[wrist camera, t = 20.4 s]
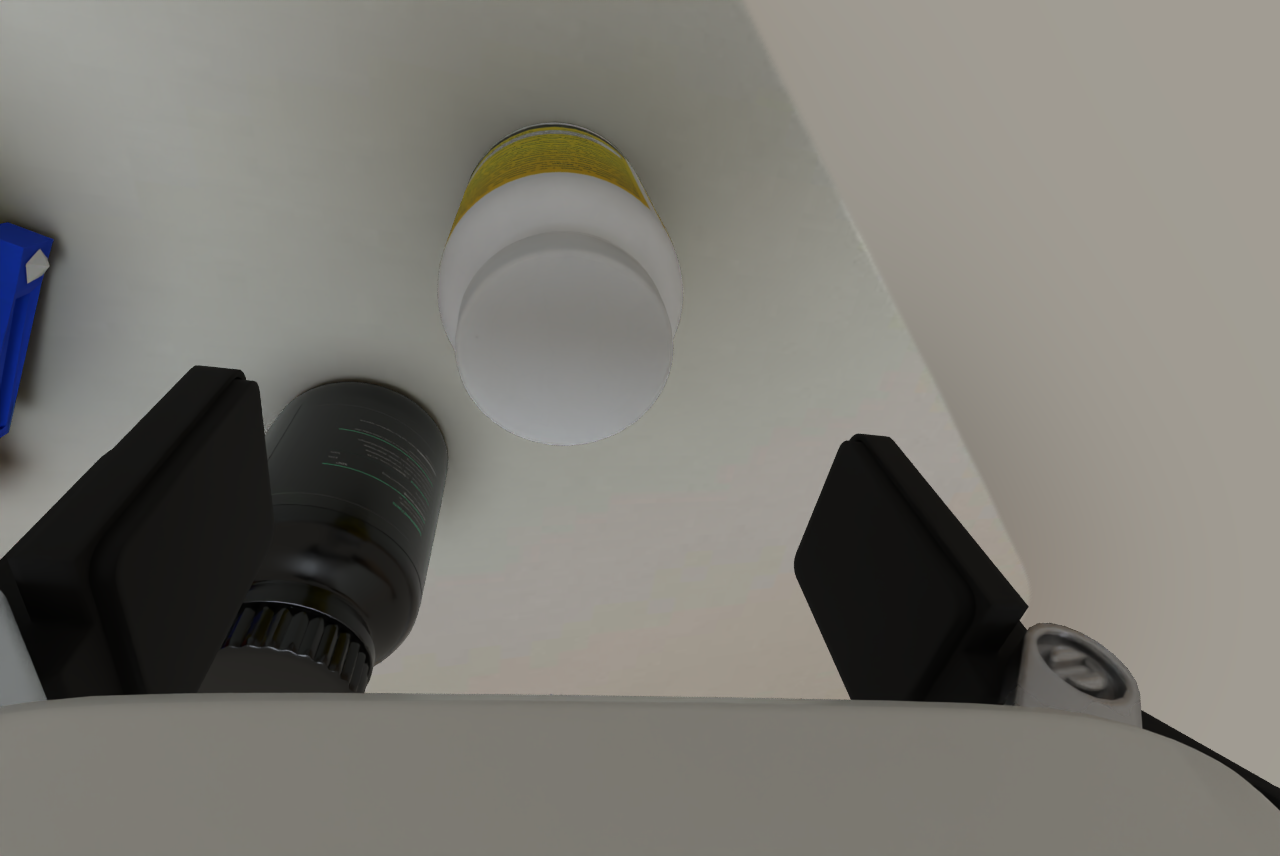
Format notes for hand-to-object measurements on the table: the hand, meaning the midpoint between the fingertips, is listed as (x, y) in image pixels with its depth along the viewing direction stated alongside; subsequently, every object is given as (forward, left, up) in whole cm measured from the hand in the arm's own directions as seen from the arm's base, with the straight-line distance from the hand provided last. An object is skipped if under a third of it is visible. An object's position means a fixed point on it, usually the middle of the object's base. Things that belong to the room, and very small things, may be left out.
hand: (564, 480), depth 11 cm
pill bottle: (0, 0, -15) cm, 15 cm away
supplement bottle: (+10, -6, -15) cm, 20 cm away
